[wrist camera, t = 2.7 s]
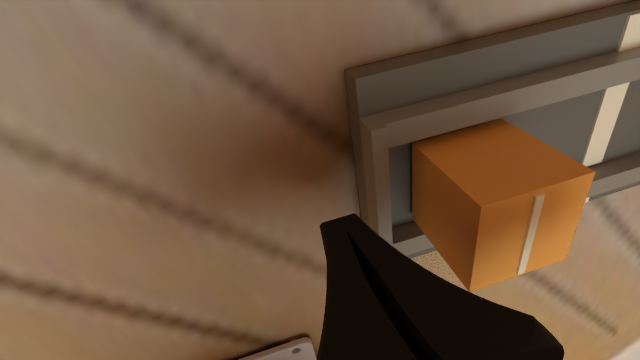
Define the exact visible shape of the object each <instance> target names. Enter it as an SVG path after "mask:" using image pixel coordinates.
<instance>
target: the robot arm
mask: <svg viewBox="0 0 640 360" xmlns="http://www.w3.org/2000/svg"><path fill="white" fill-rule="evenodd" d="M320 230H321V235H322V240H323V245H324V250H325V255H326V260H327V291H326V305H325V314H324V322H323V329H322V335H321V341H320V346H319V350H318V355H317V359H316V355H315V352H314V348H313V345H312V341H311V339H310V338H307V337H304V338H300V339H297V340H294V341H291V342H288V343H285V344H282V345H279V346H277V347H274V348H271V349H268V350H265V351H262V352H259V353H256V354H253V355H250V356H247V357H244V358H241V359H238V360H563V357H564V349H563V346H562V345H561V344H560V343H559V342H558V340H557V339H556V338H555V337H554V336H553V335H552V334H551V333H550V332H549V331H548V330H547V329H546V328H545V327H544V326H543V325H542V324H541V323H540V322H539V321H537V320H536V319H535V318H534V317H533V316H531V315H528V314H525V313H522V312H519V311H516V310H513V309H510V308H508V307H505V306H502V305H499V304H496V303H494V302H491V301H489V300H486V299H484V298H481V297H479V296H477V295H475V294H473V293H470V292H468V291H466V290H464V289H462V288H460V287H458V286H456V285H453V284H451V283H450V282H448V281H446V280H444V279H442V278H440V277H439V276H437V275H435V274H433V273H432V272H430V271H428V270H426V269H425V268H423V267H422V266H420V265H419V264H417V263H415V262H414V261H412V260H411V259H410V258H408V257H407V256H405V255H404V254H402V253H401V252H400V251H398V250H397V249H396V248H394V247H393V246H392V245H390V244H389V243H388V242H387V241H385V240H384V239H383V238H382V237H380V236H379V235H378V234H377V233H376V232H375V231H373V230H372V229H371V228H370V227H369V226H368V225H367V224H366V223H364V222H363V221H362V220H361V219H360V218H359V217H358V216H357V215H356V214H350V215H347V216H343V217H340V218H337V219H333V220H330V221H327V222H323V223H322V224H321V225H320Z"/></svg>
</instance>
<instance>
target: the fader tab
mask: <svg viewBox="0 0 640 360" xmlns="http://www.w3.org/2000/svg"><path fill="white" fill-rule="evenodd" d="M594 175H595V171H593V170H592V169H590V168H588V167H586V166H584V165H583V164H581V163H579V162H577V161H576V160H574V159H572V158H570V157H569V156H567V155H565V154H563V153H561V152H560V151H558V150H556V149H554V148H553V147H551V146H549V145H547V144H546V143H544V142H542V141H540V140H538V139H537V138H535V137H533V136H531V135H530V134H528V133H526V132H524V131H523V130H521V129H519V128H517V127H515V126H514V125H512V124H510V123H508V122H507V121H505V120H503V119H497V120H494V121H490V122H486V123H483V124H479V125H476V126H472V127H468V128H465V129H461V130H457V131H454V132H450V133H447V134H443V135H439V136H436V137H432V138H428V139H425V140H421V141H417V142H414V143H412V219H413V220H414V221H415V222H416V224H417V225H418V226H419V228H420V229H421V230H422V231H423V233H424V234H425V235H426V237H427V238H428V239H429V241H430V242H431V243H432V244H433V246H434V247H435V248H436V250H437V251H438V252H439V253H440V255H441V256H442V257H443V259H444V260H445V261H446V262H447V264H448V265H449V266H450V268H451V269H452V270H453V271H454V273H455V274H456V275H457V277H458V278H459V279H460V281H461V282H462V283H463V284H464V286H465V287H466V288H467V290H468V291H469V292H472V291H475V290H478V289H481V288H484V287H486V286H489V285H492V284H495V283H498V282H501V281H504V280H507V279H510V278H513V277H515V276H518V275H521V274H524V273H527V272H530V271H533V270H536V269H539V268H542V267H545V266H547V265H550V264H553V263H556V262H559V261H562V260H565V258H566V255H567V252H568V250H569V247H570V244H571V241H572V238H573V235H574V232H575V229H576V227H577V224H578V221H579V218H580V215H581V212H582V209H583V206H584V203H585V201H586V198H587V195H588V192H589V189H590V186H591V183H592V180H593V178H594Z"/></svg>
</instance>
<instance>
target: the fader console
mask: <svg viewBox="0 0 640 360" xmlns="http://www.w3.org/2000/svg"><path fill="white" fill-rule="evenodd" d="M345 78H346V87H347V96H348V105H349V114H350V123H351V132H352V141H353V150H354V159H355V168H356V177H357V186H358V196H359V205H360V214H361V220H362V221H363V222H364V223H366V224H367V225H368V226H369V227H370V228H371V229H372V230H373V231H375V232H376V233H377V234H378V235H379V236H380V237H382V238H383V239H384V240H385V241H387V242H388V243H389V244H390V245H392V246H393V247H394V248H396V249H397V250H398V251H400V252H401V253H402V254H404V255H405V256H407V257H408V258H413V257H416V256H420V255H423V254H426V253H429V252H432V251H435V250H436V248H435V247H434V246H433V244H432V243H431V242H430V241H429V239H428V238H427V237H426V235H425V234H424V233H423V231H422V230H421V229H420V228H419V226H418V225H417V224H416V222H415V221H414V220H413V219H412V143H414V142H417V141H421V140H425V139H428V138H432V137H436V136H439V135H443V134H447V133H450V132H454V131H457V130H461V129H465V128H468V127H472V126H476V125H479V124H483V123H486V122H490V121H494V120H497V119H503V120H505V121H507V122H508V123H510V124H512V125H514V126H515V127H517V128H519V129H521V130H523V131H524V132H526V133H528V134H530V135H531V136H533V137H535V138H537V139H538V140H540V141H542V142H544V143H546V144H547V145H549V146H551V147H553V148H554V149H556V150H558V151H560V152H561V153H563V154H565V155H567V156H569V157H570V158H572V159H574V160H576V161H577V162H579V163H581V164H583V165H584V166H586V167H588V168H590V169H592V170H593V171H595V175H594V178H593V180H592V183H591V186H590V189H589V192H588V195H587V198H586V201H585V203H586V202H588V201H590V200H593V199H596V198H600V197H603V196H606V195H609V194H612V193H615V192H618V191H621V190H624V189H628V188H631V187H634V186H637V185H640V0H635V1H631V2H627V3H622V4H618V5H614V6H610V7H606V8H601V9H597V10H593V11H589V12H585V13H581V14H576V15H572V16H568V17H564V18H560V19H556V20H551V21H547V22H543V23H539V24H535V25H530V26H526V27H522V28H518V29H514V30H510V31H505V32H501V33H497V34H493V35H489V36H484V37H480V38H476V39H472V40H468V41H464V42H459V43H455V44H451V45H447V46H443V47H438V48H434V49H430V50H426V51H422V52H418V53H413V54H409V55H405V56H401V57H397V58H392V59H388V60H384V61H380V62H376V63H372V64H367V65H363V66H359V67H355V68H351V69H346V70H345Z"/></svg>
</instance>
